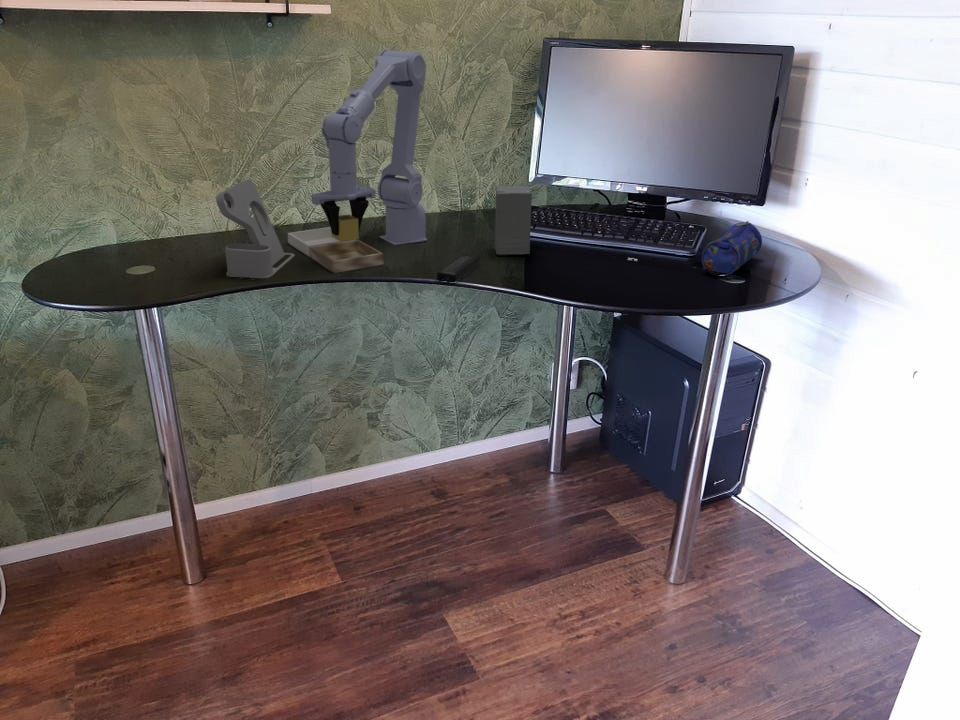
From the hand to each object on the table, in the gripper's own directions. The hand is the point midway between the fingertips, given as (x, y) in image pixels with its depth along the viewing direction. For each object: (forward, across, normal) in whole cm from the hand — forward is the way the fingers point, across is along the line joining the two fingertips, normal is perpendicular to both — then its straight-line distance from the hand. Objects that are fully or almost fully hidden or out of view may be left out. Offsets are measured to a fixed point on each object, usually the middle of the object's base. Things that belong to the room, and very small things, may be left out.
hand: (345, 232), depth 173 cm
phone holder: (+7, -17, +7) cm, 20 cm away
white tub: (+7, 0, +13) cm, 15 cm away
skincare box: (+7, +38, -12) cm, 40 cm away
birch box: (+7, 0, 0) cm, 7 cm away
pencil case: (+7, +77, -46) cm, 90 cm away
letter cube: (+1, 0, 0) cm, 1 cm away
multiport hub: (+8, +18, -18) cm, 27 cm away
